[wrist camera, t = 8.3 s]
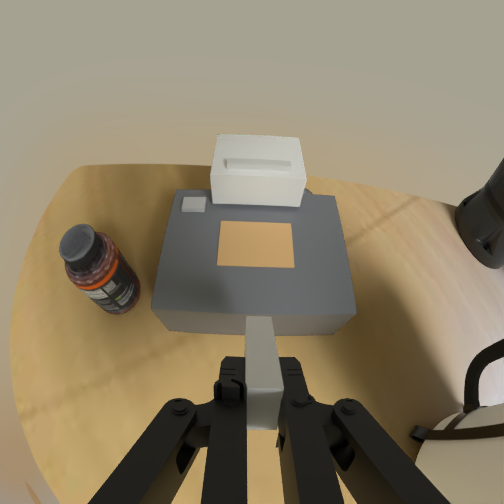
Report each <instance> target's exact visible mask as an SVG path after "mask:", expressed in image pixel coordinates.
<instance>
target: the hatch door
mask: <svg viewBox="0 0 504 504" xmlns="http://www.w3.org/2000/svg"><path fill="white" fill-rule="evenodd" d="M210 180H211V190H212V200H213V204H247V205H271V206H291V207H300V203H301V199H302V196H303V192H304V188H305V184H306V180H307V178H306V173H305V168H304V162H303V157H302V152H301V147H300V143H299V138H293V137H279V136H264V135H239V134H237V135H236V134H218V136H217V142H216V147H215V151H214V156H213V162H212V167H211V173H210Z"/></svg>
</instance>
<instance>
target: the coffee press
mask: <svg viewBox="0 0 504 504" xmlns="http://www.w3.org/2000/svg"><path fill="white" fill-rule="evenodd" d="M502 357H504V339H502V340H500V341H498V342H496V343H494V344H493V345H491V346H489V347H487V348H485V349H484V350H482V351H481V352H480V353H479V354H477V355H476V357H475V358H474V359H473V360H472V362H471V364H470V366H469V368H468V370H467V374H466V378H465V387H464V407H463V412H459V413H456V414H453V415H451V416H449V417H447V418H445V419H444V420H442V421H441V422H440V423H439V424H438V425H437V426H436V427H435V428H434V429H433V430H430V429H427V428H424V427H421V426H418V425H416V426H415V427H414V428H413V430H412V431H411V432H410V434H409V436H410V437H411V438H412V439H414V440H416V441H418V442H420V443H422V444H423V445H422V446H421V449H420V451H419V453H418V456H417V459H416V462H415V465H416V466H417V467H418V468H419V469H420V470H421V472H422V473H423V474H424V475H425V476H426V477H427V478H428V479H429V480H430V481H431V482H432V484H433V485H434V486H435V487H436V488H437V489H438V490H439V491H440V492H441V493H442V494H443V496H444V497H445V498H446V499H447V500H448V501H449V502H450V503H451V504H504V403H502V404H498V405H494V406H489V407H488V406H480V403H479V391H478V387H479V378H480V375H481V373H482V371H483V370H484V368H485V367H486V366H487V365H488V364H489V363H491V362H493V361H495V360H498V359H500V358H502Z"/></svg>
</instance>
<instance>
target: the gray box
mask: <svg viewBox="0 0 504 504" xmlns="http://www.w3.org/2000/svg"><path fill="white" fill-rule="evenodd" d="M151 309H152V311H153V312H154V313H155V314H156V316H157V317H158V318H159V319H160V320H161V322H162V323H163V324H164V325H165V326H166V327H167V329H168V330H169V331H178V332H191V333H206V334H225V335H245V334H246V316H266V317H271V318H272V323H273V329H274V334H275V336H303V335H333V334H334V333H335V332H337V331H338V330H339V329H340V328H341V327H342V326H343V325H345V324H346V323H347V322H348V321H349V320H350V319H351V318H352V317H354V316H355V315H356V314H357V311H356V304H355V297H354V290H353V284H352V278H351V272H350V266H349V261H348V256H347V250H346V245H345V240H344V235H343V231H342V226H341V221H340V217H339V213H338V208H337V204H336V200H335V196H329V195H316V194H312V192H311V191H309V190H308V189H306V188H304V192H303V196H302V199H301V203H300V207H291V206H271V205H247V204H213V200H212V190H176V193H175V196H174V200H173V204H172V208H171V212H170V216H169V220H168V224H167V228H166V233H165V237H164V241H163V246H162V251H161V255H160V260H159V265H158V270H157V275H156V280H155V286H154V292H153V297H152V303H151Z"/></svg>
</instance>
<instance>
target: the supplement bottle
mask: <svg viewBox="0 0 504 504" xmlns="http://www.w3.org/2000/svg"><path fill="white" fill-rule="evenodd" d="M59 252H60V255H61V257H62V258H63V259H64V261H65V270H66V273H67V276H68V277H69V279H70V280H71V281H72V282H73V283H74V284H75V285H76V286H77V287H78V288H79V289H80V290H81V291H83V292H84V293H85V294H86V295H87V296H88V297H89V298H91V299H92V300H93V301H94V302H95V303H96V304H97V305H99V306H100V307H101V308H102V309H103V310H105V311H106V312H108V313H111V314H122V313H125V312H127V311H128V310H130V309H131V308H132V307H133V306H134V305H135V304H136V302H137V300H138V298H139V295H140V283H139V280H138V278H137V276H136V275H135V273H134V272H133V270H132V269H131V267H130V266H129V265H128V263H127V262H126V260H125V259H124V257H123V256H122V254H121V253H120V251H119V250H118V248H117V247H116V245H115V244H114V242H113V241H112V240H111V238H110V237H108V236H107V235H106V234H103V233H101V232H95V231H94V230H93V228H92V227H91V226H89V225H87V224H79V225H76V226H74V227H72V228H71V229H70V230H68V231H67V232H66V233H65V235H64V236H63V238H62V240H61V242H60V247H59Z"/></svg>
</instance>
